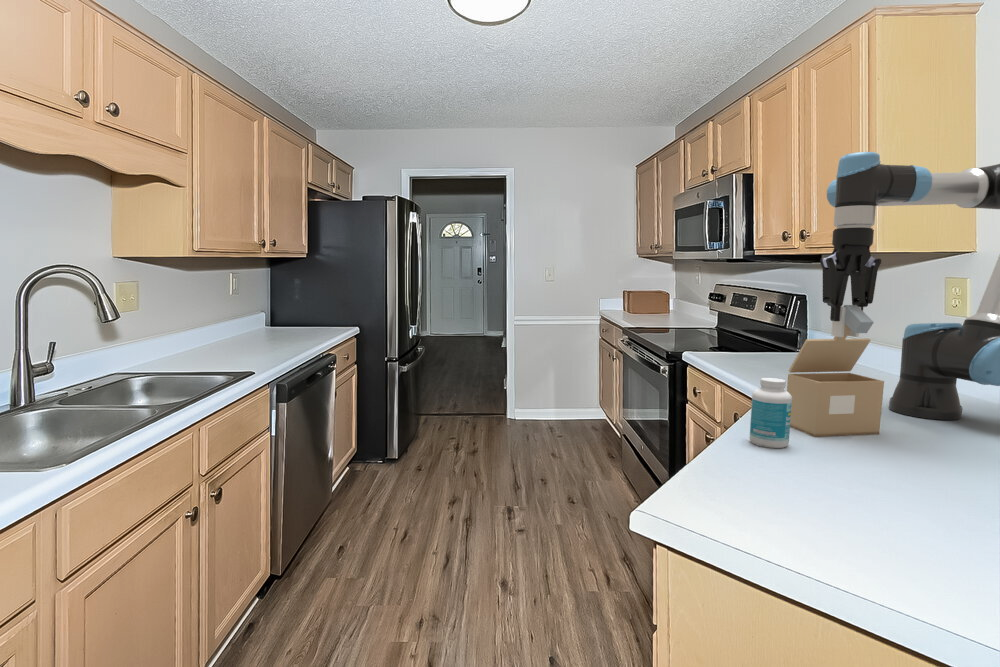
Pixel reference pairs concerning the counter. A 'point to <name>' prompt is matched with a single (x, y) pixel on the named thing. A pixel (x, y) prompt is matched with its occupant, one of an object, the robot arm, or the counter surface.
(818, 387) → the carton
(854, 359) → the flap
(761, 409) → the pill bottle
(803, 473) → the counter surface
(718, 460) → the counter surface
